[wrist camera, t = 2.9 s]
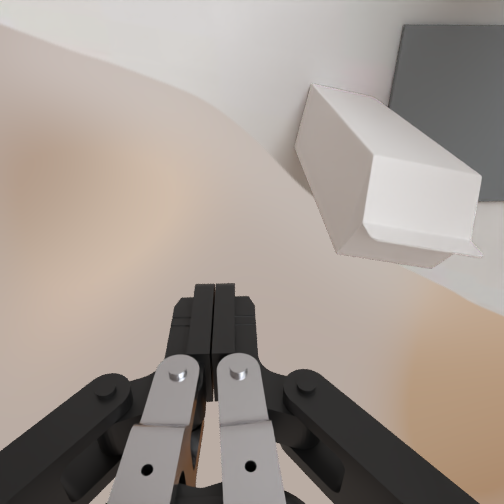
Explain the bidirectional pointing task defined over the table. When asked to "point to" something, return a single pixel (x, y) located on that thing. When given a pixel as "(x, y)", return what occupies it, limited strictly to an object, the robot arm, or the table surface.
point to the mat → (456, 94)
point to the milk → (384, 182)
